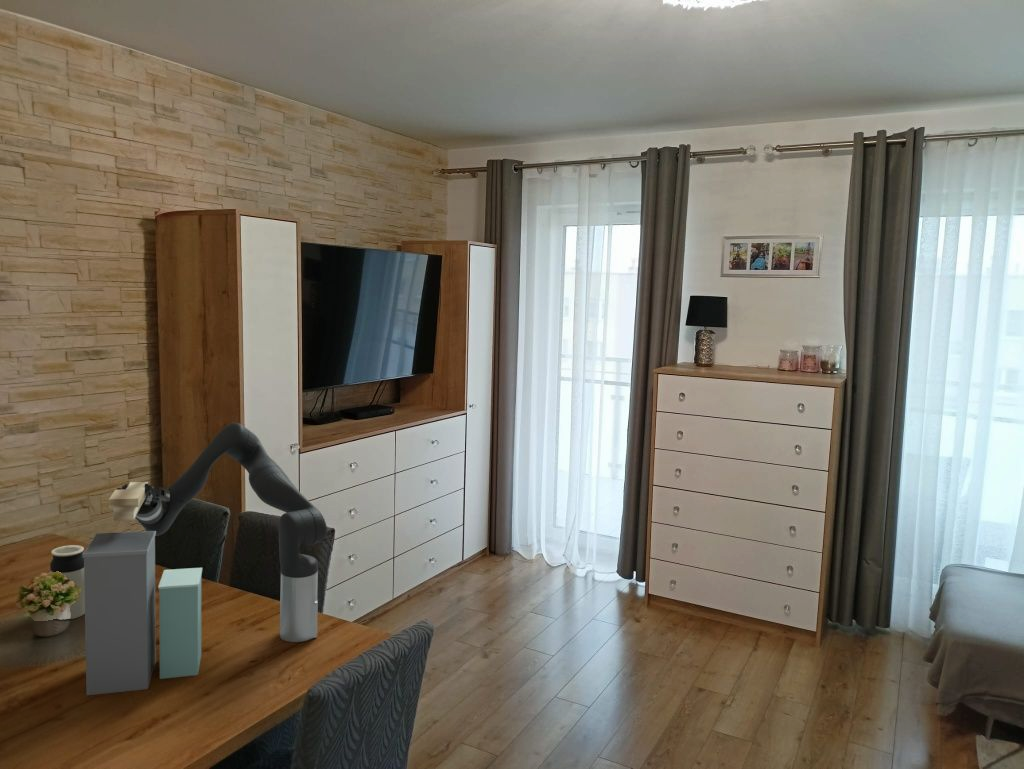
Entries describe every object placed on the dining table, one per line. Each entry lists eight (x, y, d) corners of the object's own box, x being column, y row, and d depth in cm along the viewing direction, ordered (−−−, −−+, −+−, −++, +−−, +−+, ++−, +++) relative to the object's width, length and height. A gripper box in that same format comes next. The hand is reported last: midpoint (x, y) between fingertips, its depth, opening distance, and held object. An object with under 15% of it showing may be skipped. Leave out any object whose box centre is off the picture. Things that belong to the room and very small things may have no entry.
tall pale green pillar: (202, 654, 182) (202, 567, 180) (198, 675, 172) (198, 584, 170) (164, 657, 180) (164, 569, 177) (158, 679, 170) (158, 586, 167)
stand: (156, 660, 178) (155, 530, 174) (148, 689, 166) (147, 550, 162) (98, 665, 174) (96, 533, 170) (85, 696, 162) (82, 553, 158)
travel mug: (85, 618, 197) (83, 553, 195) (49, 623, 194) (48, 556, 192) (87, 606, 204) (86, 543, 202) (53, 610, 201) (51, 546, 199)
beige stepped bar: (152, 493, 190) (152, 474, 190) (138, 519, 170) (138, 498, 169) (126, 494, 188) (125, 474, 188) (109, 521, 168) (108, 499, 167)
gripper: (116, 491, 198) (105, 473, 183) (175, 489, 203) (168, 472, 188) (114, 519, 196) (102, 503, 181) (173, 516, 200) (166, 501, 185)
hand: (136, 487), depth 184 cm, fingers closed on beige stepped bar, 4 cm apart
